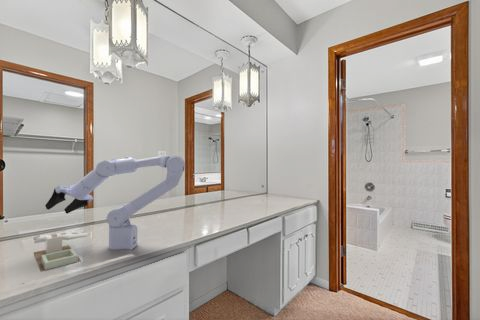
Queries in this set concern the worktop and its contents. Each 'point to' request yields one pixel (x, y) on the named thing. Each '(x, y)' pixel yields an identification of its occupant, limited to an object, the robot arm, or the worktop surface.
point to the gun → (64, 235)
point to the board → (39, 253)
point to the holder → (59, 258)
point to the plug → (53, 243)
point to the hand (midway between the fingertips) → (56, 209)
